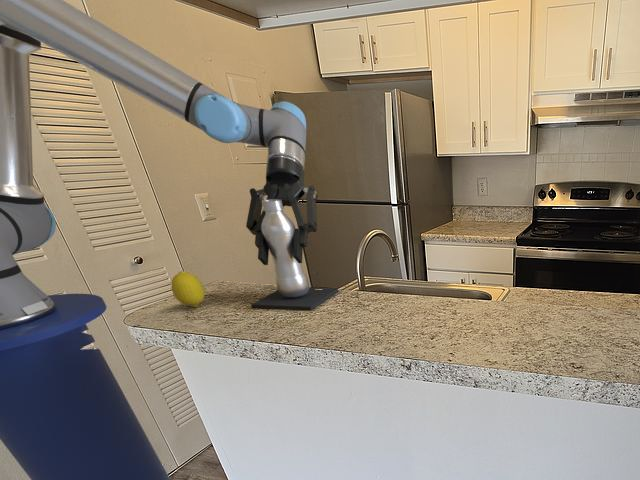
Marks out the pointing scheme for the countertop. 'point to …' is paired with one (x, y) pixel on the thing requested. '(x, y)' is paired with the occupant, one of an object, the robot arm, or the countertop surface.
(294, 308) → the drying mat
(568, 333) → the countertop surface
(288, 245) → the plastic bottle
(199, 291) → the lemon
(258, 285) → the countertop surface
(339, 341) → the countertop surface
